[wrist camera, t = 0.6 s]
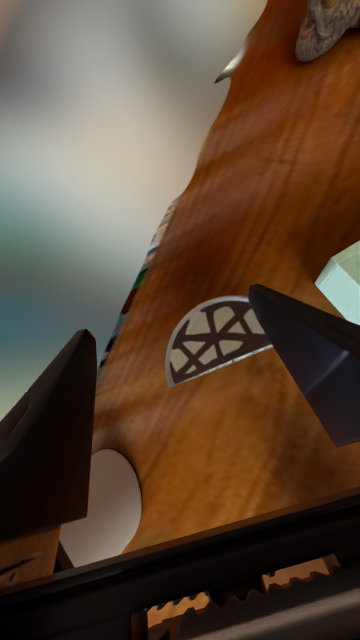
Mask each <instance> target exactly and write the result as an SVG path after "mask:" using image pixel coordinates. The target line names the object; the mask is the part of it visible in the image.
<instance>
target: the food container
mask: <svg viewBox="0 0 360 640" xmlns="http://www.w3.org/2000/svg"><path fill="white" fill-rule="evenodd" d="M271 347H273V345H272V343H271V342H270V340H269V339H268V337H267V335H266V334H265V332H264V331H263V329H262V327H261V326H260V324H259V322H258V320H257V318H256V316H255V314H254V312H253V309H252V307H251V305H250V303H249V301H248V296H241V295H228V296H221V297H216V298H213V299H210V300H207V301H205V302H203V303H201V304H199V305H198V306H196V307H195V308H193V309H192V310H191V311H189V312H188V313H187V314H186V315H185V316H184V317H183V318H182V319H181V321H180V322H179V323H178V324H177V326H176V328H175V329H174V331H173V333H172V335H171V337H170V340H169V343H168V347H167V351H166V358H165V370H166V378H167V382H168V386H169V388H171V387H173V386H176V385H178V384H181V383H184V382H186V381H189V380H192V379H194V378H197V377H200V376H202V375H205V374H208V373H210V372H213V371H215V370H218V369H220V368H223V367H225V366H227V365H230V364H232V363H235V362H237V361H240V360H242V359H245V358H247V357H249V356H252V355H254V354H257V353H259V352H262V351H264V350H267V349H269V348H271Z"/></svg>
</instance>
